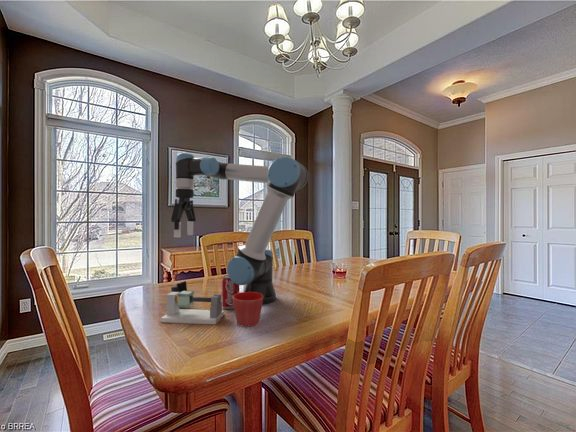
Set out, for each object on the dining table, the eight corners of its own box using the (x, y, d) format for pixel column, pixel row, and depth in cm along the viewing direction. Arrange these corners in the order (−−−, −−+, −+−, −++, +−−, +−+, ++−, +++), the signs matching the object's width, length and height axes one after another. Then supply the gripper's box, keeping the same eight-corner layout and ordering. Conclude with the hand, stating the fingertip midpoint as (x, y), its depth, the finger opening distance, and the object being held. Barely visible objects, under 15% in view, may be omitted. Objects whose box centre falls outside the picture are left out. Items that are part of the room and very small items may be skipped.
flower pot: (250, 331, 95) (250, 302, 95) (226, 324, 101) (226, 296, 101) (269, 321, 104) (269, 294, 104) (245, 315, 110) (246, 290, 110)
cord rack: (224, 314, 110) (224, 291, 110) (215, 324, 100) (215, 298, 100) (174, 312, 112) (174, 289, 112) (160, 322, 102) (161, 296, 102)
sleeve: (193, 304, 108) (193, 291, 108) (188, 307, 104) (188, 294, 104) (183, 303, 109) (183, 290, 109) (177, 307, 104) (177, 293, 104)
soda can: (224, 310, 114) (224, 278, 114) (220, 305, 121) (220, 275, 121) (241, 308, 118) (241, 276, 118) (236, 303, 124) (236, 273, 124)
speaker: (192, 305, 120) (190, 280, 120) (179, 309, 116) (177, 284, 116) (182, 303, 125) (180, 279, 125) (170, 307, 120) (168, 282, 121)
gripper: (187, 191, 140) (187, 234, 141) (162, 186, 116) (162, 238, 116) (202, 191, 140) (202, 234, 140) (180, 186, 115) (180, 238, 115)
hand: (184, 236), depth 128 cm, fingers open, 13 cm apart
